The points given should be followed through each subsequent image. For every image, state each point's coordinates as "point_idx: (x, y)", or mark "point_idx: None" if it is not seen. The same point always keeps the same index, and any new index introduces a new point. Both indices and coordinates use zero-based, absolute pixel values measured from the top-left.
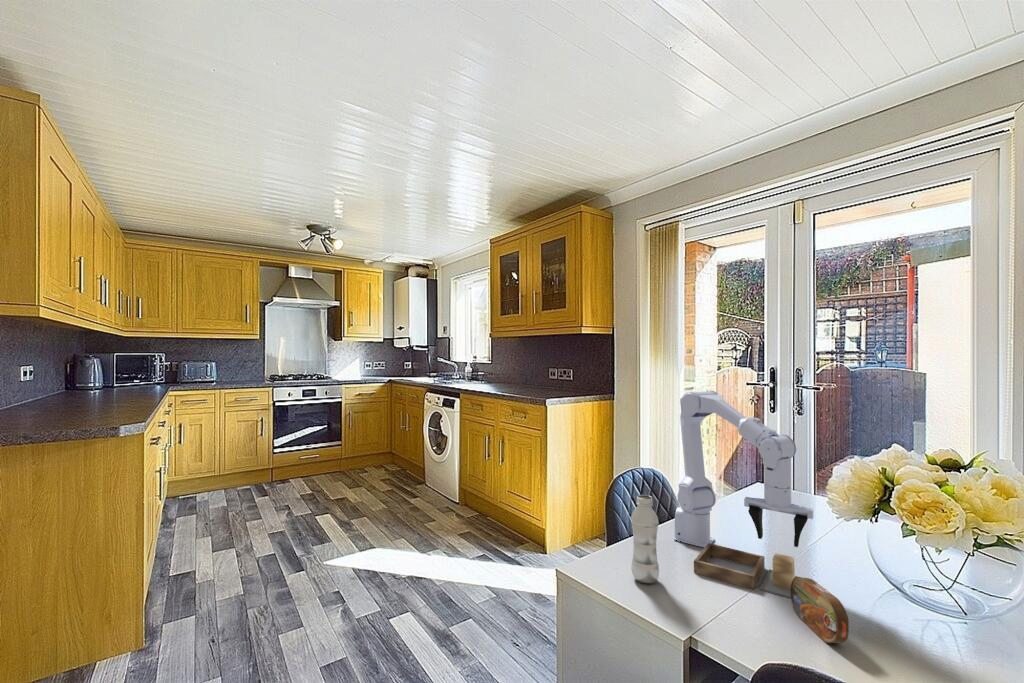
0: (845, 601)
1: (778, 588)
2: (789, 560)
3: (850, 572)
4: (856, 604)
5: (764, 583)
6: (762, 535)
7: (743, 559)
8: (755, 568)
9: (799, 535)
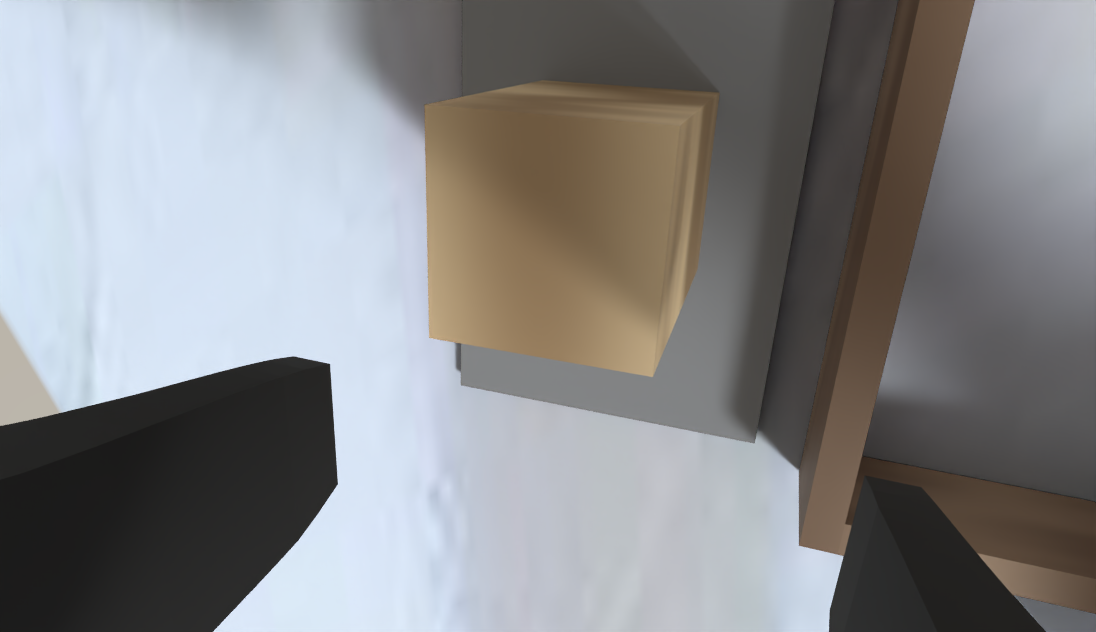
0: (211, 140)
1: (663, 22)
2: (465, 202)
3: (260, 615)
4: (155, 132)
5: (805, 67)
6: (834, 615)
7: (1031, 516)
8: (922, 136)
9: (59, 414)
